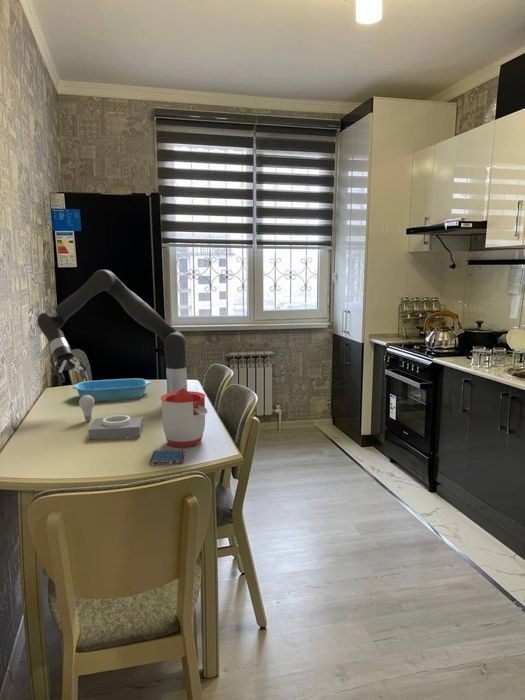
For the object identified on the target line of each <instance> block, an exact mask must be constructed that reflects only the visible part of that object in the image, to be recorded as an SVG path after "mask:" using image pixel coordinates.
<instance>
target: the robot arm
mask: <svg viewBox="0 0 525 700" xmlns="http://www.w3.org/2000/svg"><path fill="white" fill-rule="evenodd" d="M104 291H105V292H106V293H108V294H109V295H110V296H111V297H113V298H114V299H115V300H117V302H118V303H119V305H121V307H122V308H123V310H124V311H125V312H126V313H127V314H128V316H129V317H131V318H132V319H133V320H134V321H135V322H137V323H138V325H140V326H142V327H143V328H145V329H147V330H149V331H151V332H152V333H154V334H155V335H157V337H159V338H160V340H162V342H163V343H164V361H165V366H166V367H165V368H166V370H165V371H166V375H165V376H166V394H168V393H172V392H178V391H179V390H180V389H181V388H185V389H186V390H187V391H188V373H187V360H186V359H187V358H186V345H187V338H186V337H185V335H184V334H183V333H182V332H180V331H179V330H177V329H176V328H174V327H173V326H171V325H170V324H169V323H168V322H166V320H164V318H162V316H161V315H160V314H159V313H158V312H157V311H156V310H155V309H154V308H152V307H151V306H150V305H149V304H148V303H147V302H146V301H145V300H144V299H142V298H141V297H139V296H138V294H136V293H135V292H133V291H132V290H130V289H129V288H128V287H127V286H126V285H125V284H124V283H123V282H122V281H121V280H120V279H119V278H118V277H117V276H116V274H115V273H114V272H112V271H111V270H109V269H98V270H96V271H95V272H94V273H93V274H92V275H91V277H89V279H88V280H87V281H85V283H84V284H83V285H81V286H80V288H78V290H76V291H75V292H73V293H72V294H71V295H69V296H68V297H66V299H64V300H63V301H62V302H60V303H59V304H58V305H57V306H56V307H55V309H54V311H55V312H56V314H55V315H53V314H51V313H50V312H49V313H48V312H42V313H40V314H39V315H38V317H37V321H36V322H37V325H38V327H39V330H40V331H41V332H42V333H43V334H44V336H45V337H46V339H47V341H48V343H49V346H50V350H51V353H52V354H53V359H54V360H55V361H53V360H51V361H50V364H49V368H50V371H51V373H52V374H51V375H52V376H58V379H59V382H62V383H63V384H64V383H66V377H65V376H64V373H63V371H72V370H74V371H75V372H78V373H79V376H80V379H81V380H84V381H85V379H86V377H87V375H86V370H87V368H88V366H87V365H86V363H85V361H84V359H83V357H79V358H75V356H74V353H73V351H72V348H71V346H70V344H69V342H68V341H67V339H66V335H64V334H65V333H64V332H63V331H62V330H61V329H62V328H63V326H64V325H65V323H67V321H68V319H69V318H70V317H72V316H73V315H74V314H76V312H78V311H79V310H80V309H81V308H82V307H83V306H85V305H86V303H87V302H88V301H89V300H90V299H92V298H93V297H94V296H97V295H98V294H101V293H102V292H104ZM56 366H57V367H59V369H58V370H57V368H56Z"/></svg>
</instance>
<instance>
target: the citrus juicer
mask: <svg viewBox="0 0 525 700" xmlns="http://www.w3.org/2000/svg"><path fill="white" fill-rule="evenodd" d="M205 398H206V394H205V393H202V392H200V391H193V390H189V391H188V389H187V390H186V389H185V388H181V389H180V390H179V391H178V392H172V393H168V394H167V393H164V394H163V395H161V396H160V400H161V418H162V419H161V423H162V428H163V432H164V435H165V439H166V442H167V444H168V445H170V446H173V447H180V448H187V447H186V446H188V447H193V446H195V445H198V444H200V443H201V442H202V439H203V436H204V432H205V427H206V415H207V413H208V409H207V408H206V403H205V402H206V399H205ZM192 445H193V446H192Z"/></svg>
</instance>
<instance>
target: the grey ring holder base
mask: <svg viewBox="0 0 525 700" xmlns="http://www.w3.org/2000/svg"><path fill="white" fill-rule="evenodd" d="M143 428H144V418H143V416H129V415H125V414H118V415H117V414H116V415H110V416H107V417H101V418H94V420H93V422H92V424H91V425H89V428H88V440H89V439H101V440H108V439H107V438H119V439H127V438H126V437H137V438H141V435H142V432H141V431H142V430H143Z"/></svg>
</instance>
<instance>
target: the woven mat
mask: <svg viewBox="0 0 525 700" xmlns="http://www.w3.org/2000/svg"><path fill="white" fill-rule="evenodd" d="M183 452H184V453H185V454H186V452H185V451H184V449H170V450H167V449H163V450H162V449H161V450H158V449H157V450H155V451H154V450H153V451H152V454H151V456H150V459H149V465H150V464H151V465H150V466H153V465H152V464H154V465H155V464H157V465H159V464H160V463H161V464H162V463H165V464H166V463H169V464H171V462H172V463H175V464H176V463H178V464H180V463H182V464H183V463H184V457H185V454H184V453H183ZM183 454H184V455H183ZM182 460H183V461H182ZM169 464H168V465H169ZM171 465H172V464H171Z"/></svg>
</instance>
